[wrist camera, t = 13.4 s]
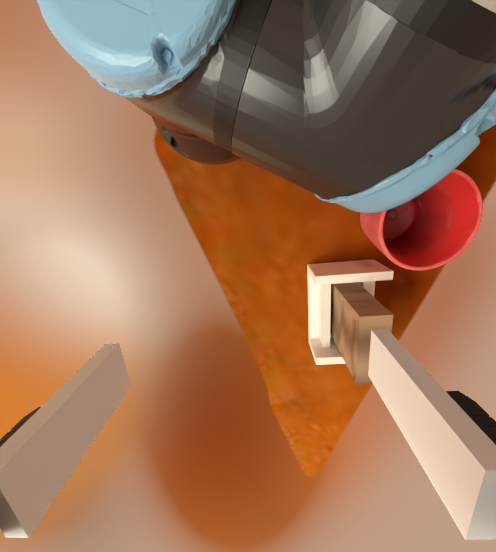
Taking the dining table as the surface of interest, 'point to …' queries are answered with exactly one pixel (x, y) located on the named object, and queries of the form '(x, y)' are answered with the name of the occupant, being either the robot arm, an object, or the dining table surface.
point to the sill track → (321, 300)
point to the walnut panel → (356, 325)
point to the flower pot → (428, 224)
